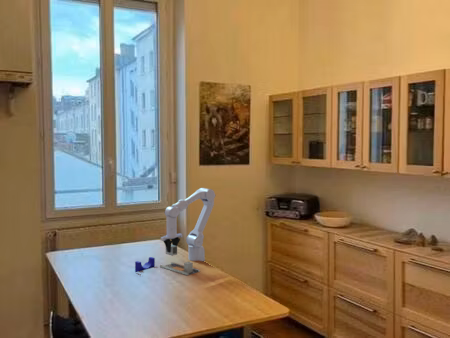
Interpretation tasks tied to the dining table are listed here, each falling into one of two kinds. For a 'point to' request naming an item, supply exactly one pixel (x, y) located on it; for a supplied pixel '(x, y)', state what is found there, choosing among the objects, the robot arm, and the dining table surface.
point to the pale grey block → (172, 250)
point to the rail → (178, 268)
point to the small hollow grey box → (188, 267)
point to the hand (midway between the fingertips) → (171, 251)
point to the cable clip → (145, 265)
